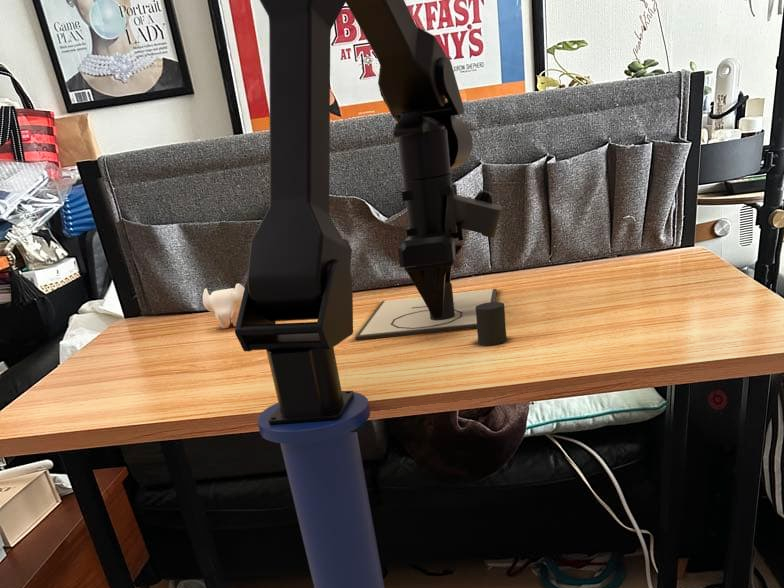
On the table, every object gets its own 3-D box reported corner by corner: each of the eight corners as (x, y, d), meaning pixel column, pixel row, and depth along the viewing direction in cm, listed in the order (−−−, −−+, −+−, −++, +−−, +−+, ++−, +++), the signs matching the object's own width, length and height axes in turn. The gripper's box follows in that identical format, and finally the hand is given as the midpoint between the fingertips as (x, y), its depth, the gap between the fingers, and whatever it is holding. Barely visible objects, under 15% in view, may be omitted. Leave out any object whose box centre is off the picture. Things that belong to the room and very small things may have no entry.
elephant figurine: (205, 336, 105) (193, 294, 102) (215, 323, 112) (204, 283, 109) (250, 329, 105) (240, 286, 102) (257, 316, 112) (248, 277, 109)
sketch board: (490, 327, 88) (490, 322, 87) (355, 340, 91) (354, 335, 91) (496, 291, 105) (496, 287, 104) (382, 303, 108) (382, 299, 108)
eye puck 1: (453, 318, 92) (450, 286, 90) (428, 321, 92) (425, 289, 90) (455, 312, 94) (452, 281, 92) (431, 315, 95) (428, 283, 93)
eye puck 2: (506, 343, 80) (503, 307, 78) (477, 346, 81) (474, 310, 79) (506, 336, 83) (504, 300, 81) (479, 338, 84) (476, 303, 82)
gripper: (491, 173, 76) (501, 323, 84) (498, 162, 92) (506, 288, 99) (388, 188, 78) (407, 332, 86) (412, 174, 94) (426, 297, 102)
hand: (441, 311), depth 93 cm, fingers open, 7 cm apart
